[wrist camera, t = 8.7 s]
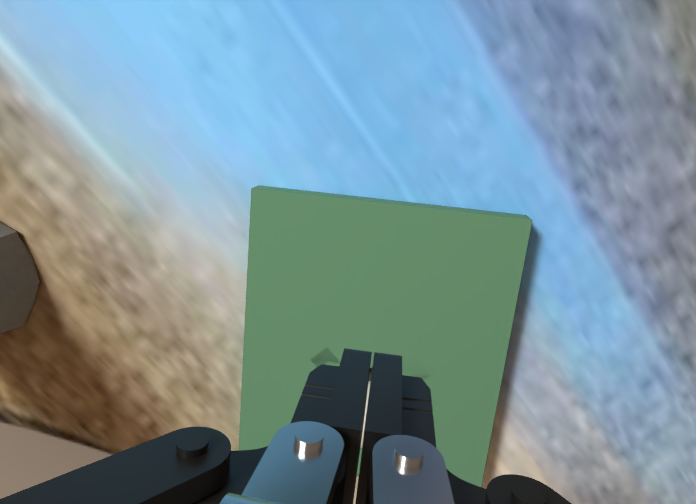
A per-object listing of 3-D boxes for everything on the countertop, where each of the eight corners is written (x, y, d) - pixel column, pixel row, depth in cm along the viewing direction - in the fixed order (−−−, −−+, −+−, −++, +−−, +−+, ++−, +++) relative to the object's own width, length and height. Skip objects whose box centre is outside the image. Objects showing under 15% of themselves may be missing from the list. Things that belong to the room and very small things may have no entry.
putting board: (525, 215, 30) (532, 220, 28) (476, 477, 34) (480, 492, 33) (258, 185, 31) (251, 188, 30) (244, 443, 36) (238, 456, 34)
